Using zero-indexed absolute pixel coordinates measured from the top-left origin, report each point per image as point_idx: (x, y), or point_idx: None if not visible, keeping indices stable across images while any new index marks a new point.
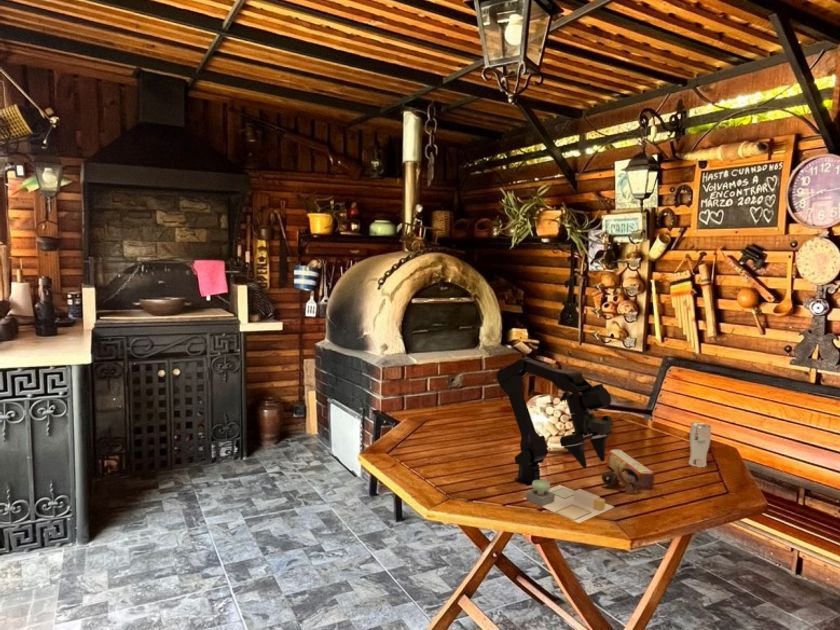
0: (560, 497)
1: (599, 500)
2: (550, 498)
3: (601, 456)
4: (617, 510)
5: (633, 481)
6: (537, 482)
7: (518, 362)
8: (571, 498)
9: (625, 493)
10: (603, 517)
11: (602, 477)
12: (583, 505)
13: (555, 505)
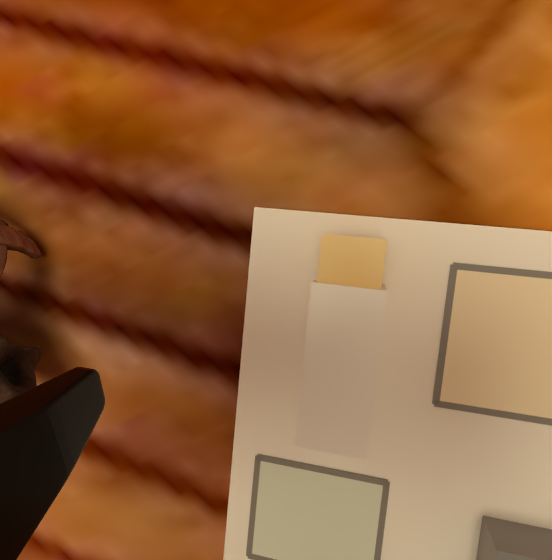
0: (389, 511)
1: (366, 255)
2: (542, 546)
3: (56, 433)
4: (262, 184)
5: None
6: None
7: None
8: None
9: (39, 253)
10: (424, 191)
11: None
12: (386, 351)
13: (536, 483)
